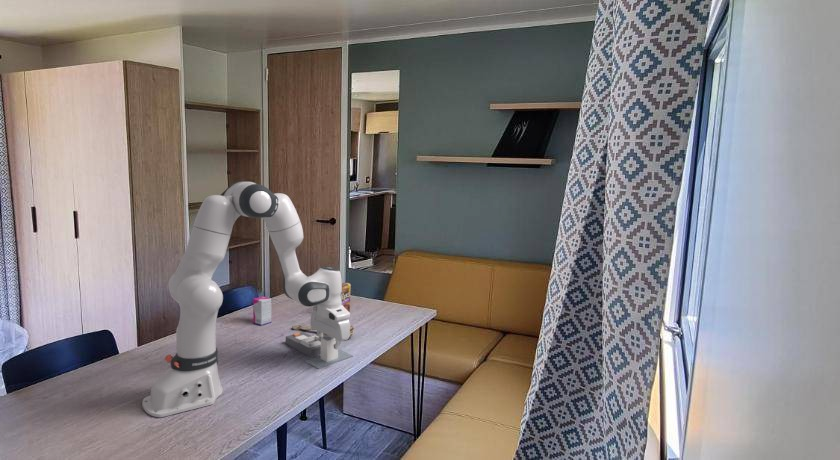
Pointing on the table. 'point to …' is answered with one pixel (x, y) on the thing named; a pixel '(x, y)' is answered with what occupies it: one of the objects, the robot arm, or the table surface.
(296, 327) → the hand mirror
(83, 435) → the table surface
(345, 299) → the candy box
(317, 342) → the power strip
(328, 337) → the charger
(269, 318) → the supplement box
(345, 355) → the slate mat
